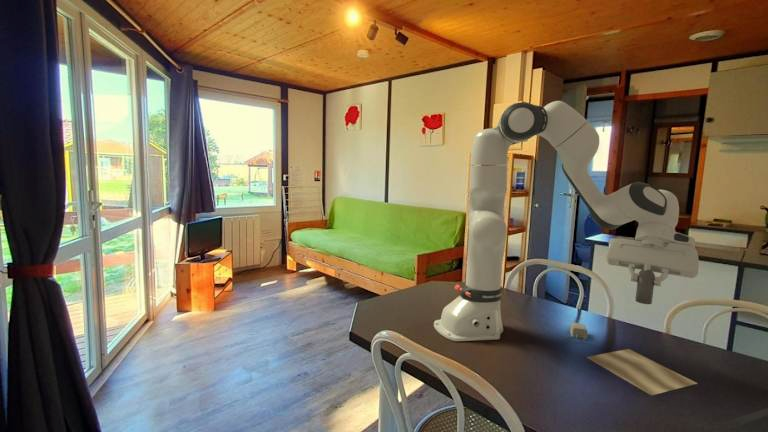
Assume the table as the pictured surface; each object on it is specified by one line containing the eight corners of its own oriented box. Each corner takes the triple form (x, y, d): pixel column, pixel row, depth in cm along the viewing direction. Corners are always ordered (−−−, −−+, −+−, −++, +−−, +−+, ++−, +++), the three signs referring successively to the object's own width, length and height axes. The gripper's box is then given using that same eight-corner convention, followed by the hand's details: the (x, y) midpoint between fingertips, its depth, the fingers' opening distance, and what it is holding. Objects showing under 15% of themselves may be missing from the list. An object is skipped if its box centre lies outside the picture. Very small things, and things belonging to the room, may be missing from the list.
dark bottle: (645, 304, 96) (649, 266, 95) (632, 300, 100) (636, 262, 98) (655, 303, 97) (659, 265, 96) (641, 298, 101) (645, 262, 100)
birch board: (650, 399, 86) (651, 395, 86) (585, 360, 103) (586, 357, 103) (697, 387, 92) (697, 383, 91) (628, 352, 108) (628, 348, 108)
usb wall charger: (583, 336, 118) (585, 324, 118) (588, 346, 112) (589, 333, 111) (569, 334, 119) (571, 322, 119) (573, 343, 113) (574, 331, 112)
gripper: (610, 228, 108) (599, 268, 102) (702, 239, 95) (696, 285, 89) (611, 241, 112) (601, 280, 106) (700, 253, 99) (694, 298, 93)
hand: (645, 282), depth 97 cm, fingers closed on dark bottle, 4 cm apart
